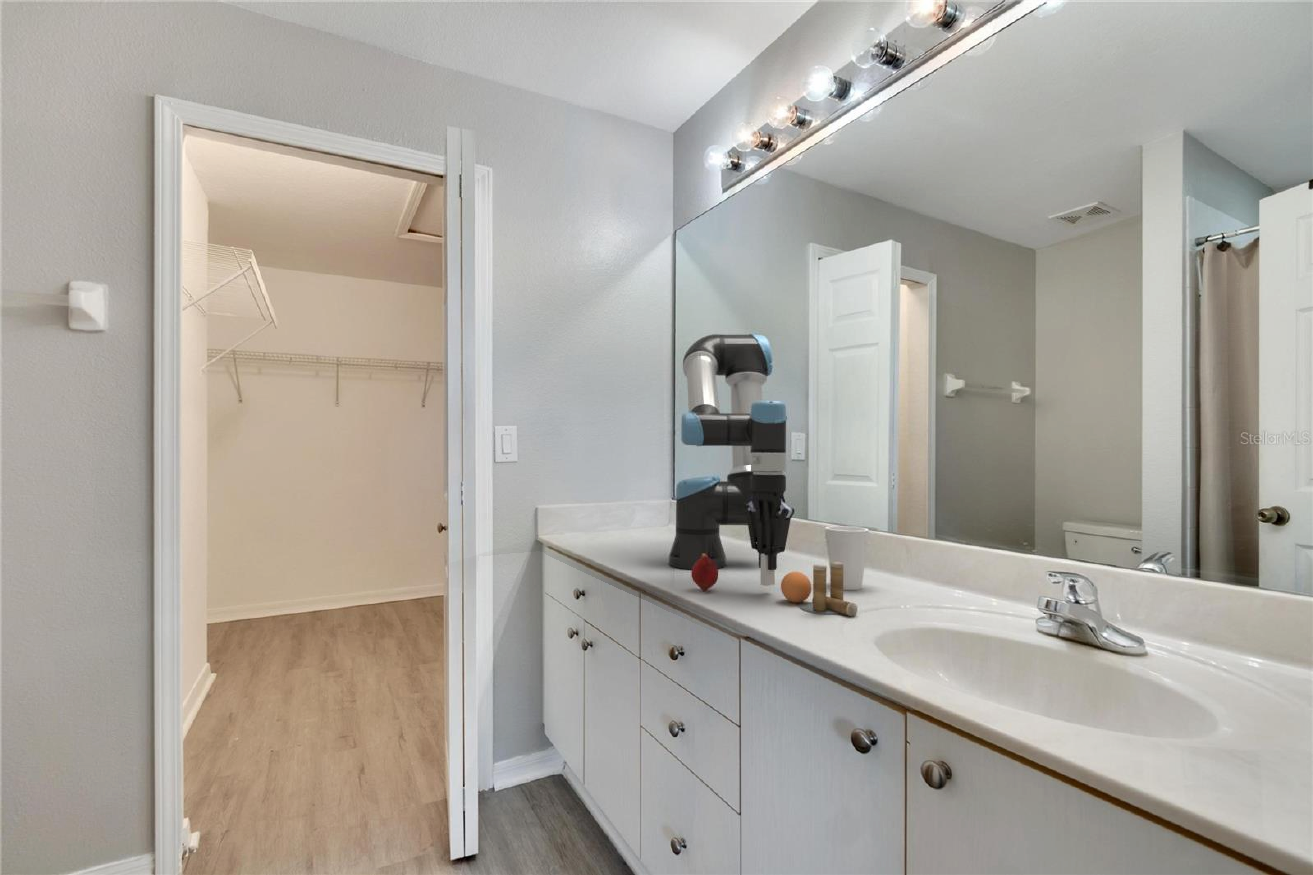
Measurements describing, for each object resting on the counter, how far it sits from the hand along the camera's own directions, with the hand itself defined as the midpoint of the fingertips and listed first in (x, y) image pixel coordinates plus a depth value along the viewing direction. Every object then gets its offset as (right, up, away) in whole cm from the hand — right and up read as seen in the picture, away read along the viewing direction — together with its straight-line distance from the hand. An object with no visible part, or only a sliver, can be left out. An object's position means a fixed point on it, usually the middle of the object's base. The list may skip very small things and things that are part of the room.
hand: (767, 584), depth 127 cm
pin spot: (+8, -2, -12) cm, 15 cm away
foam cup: (+19, -3, +7) cm, 21 cm away
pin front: (+8, -1, -10) cm, 13 cm away
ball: (+4, +1, -7) cm, 8 cm away
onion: (-13, -2, +2) cm, 14 cm away
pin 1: (+7, -2, -14) cm, 16 cm away
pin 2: (+11, -2, -11) cm, 16 cm away
